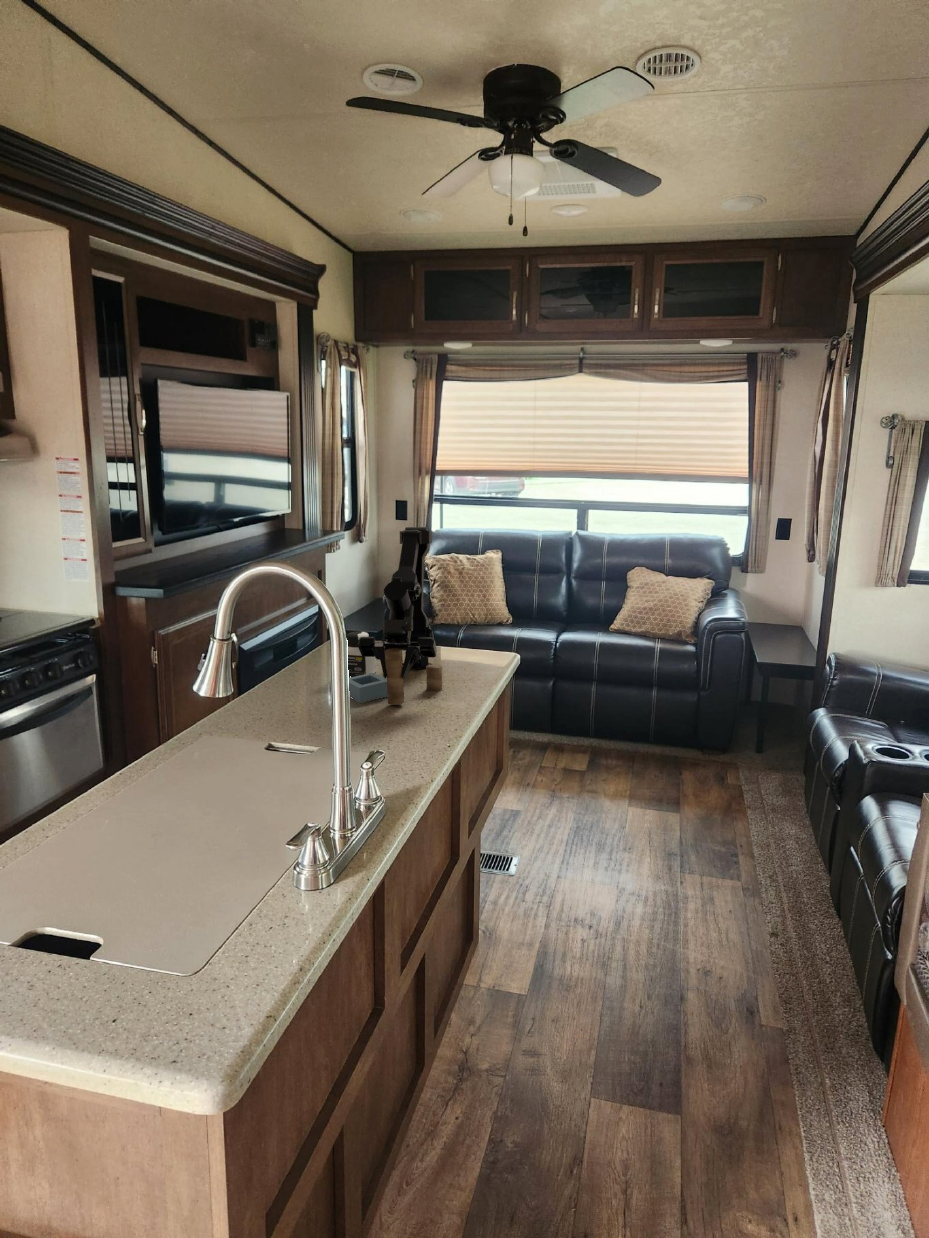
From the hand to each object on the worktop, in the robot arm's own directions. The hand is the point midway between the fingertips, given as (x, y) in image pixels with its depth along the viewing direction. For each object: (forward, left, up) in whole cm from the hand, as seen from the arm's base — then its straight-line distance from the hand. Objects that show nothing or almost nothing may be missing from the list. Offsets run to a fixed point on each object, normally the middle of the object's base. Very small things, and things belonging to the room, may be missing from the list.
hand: (393, 677), depth 199 cm
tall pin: (-1, +1, -7) cm, 7 cm away
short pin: (-6, +15, -7) cm, 18 cm away
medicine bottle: (-29, +6, -8) cm, 30 cm away
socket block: (-13, -1, -7) cm, 15 cm away
